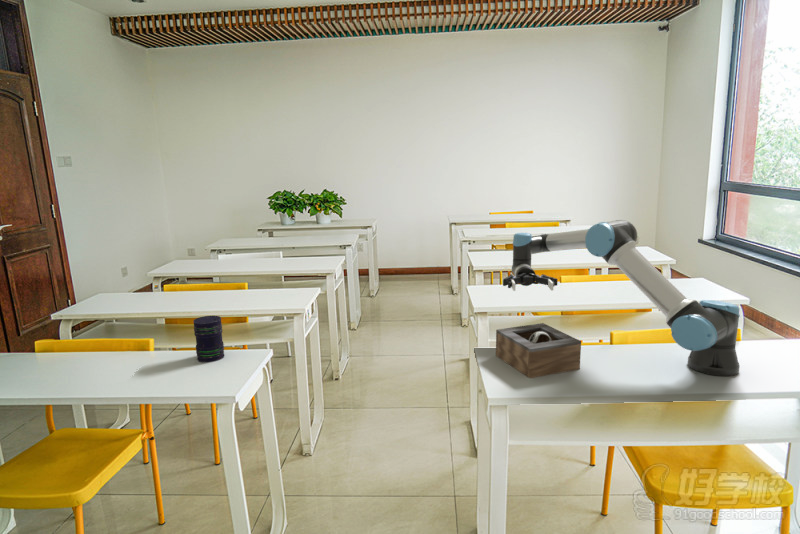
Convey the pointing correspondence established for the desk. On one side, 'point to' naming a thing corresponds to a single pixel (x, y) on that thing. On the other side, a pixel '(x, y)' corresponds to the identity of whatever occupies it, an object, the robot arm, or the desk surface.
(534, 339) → the watch
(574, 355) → the box
